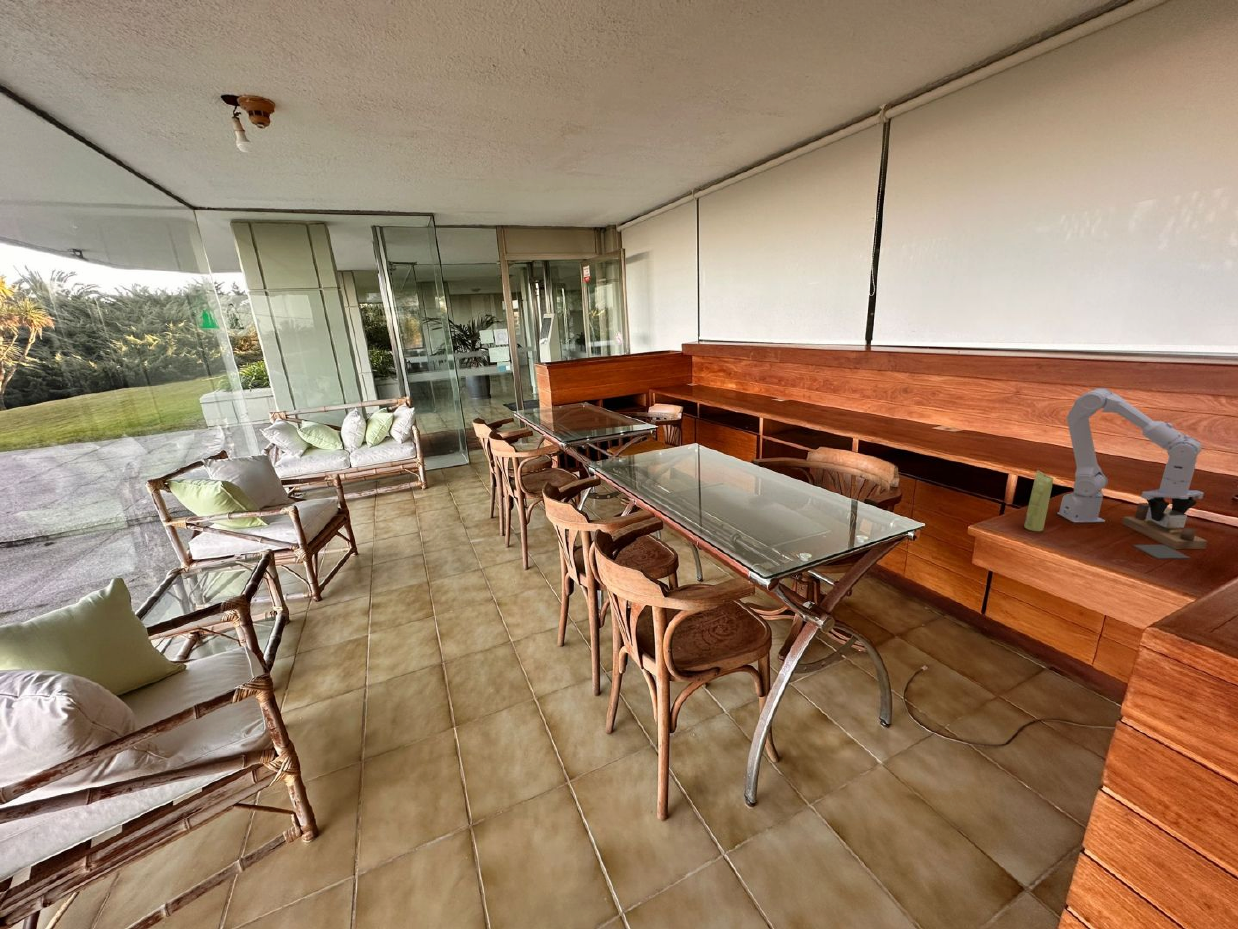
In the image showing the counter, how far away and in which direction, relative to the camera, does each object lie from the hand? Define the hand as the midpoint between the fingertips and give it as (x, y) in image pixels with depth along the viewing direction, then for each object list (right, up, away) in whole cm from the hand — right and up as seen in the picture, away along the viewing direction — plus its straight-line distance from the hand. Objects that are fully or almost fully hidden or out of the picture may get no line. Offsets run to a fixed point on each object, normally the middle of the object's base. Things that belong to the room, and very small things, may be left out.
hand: (1165, 519), depth 149 cm
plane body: (0, -5, +2) cm, 5 cm away
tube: (-30, -5, +12) cm, 33 cm away
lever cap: (0, -1, 0) cm, 1 cm away
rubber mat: (-10, -9, -7) cm, 15 cm away
